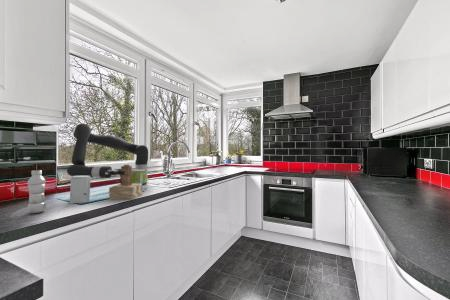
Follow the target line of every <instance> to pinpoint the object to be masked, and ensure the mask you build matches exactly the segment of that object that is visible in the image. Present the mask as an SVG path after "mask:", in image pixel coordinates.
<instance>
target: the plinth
mask: <svg viewBox="0 0 450 300" xmlns="http://www.w3.org/2000/svg"><path fill="white" fill-rule="evenodd" d="M108 189H109V190H108V191H109V192H108V193H109V195H108V198H109V200H134V199H136V198H138V197H140V196H142V195H143V191H142V184H140V183H132V185H129V186H121V184H120V183H119V184H116V185H113V186H110V187H109V188H108Z"/></svg>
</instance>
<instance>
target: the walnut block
mask: <svg viewBox="0 0 450 300" xmlns="http://www.w3.org/2000/svg"><path fill="white" fill-rule="evenodd" d="M120 169H121V171H124V175H121V186H129V185H132V170H133V165H130V164H123V165H121V166H120Z"/></svg>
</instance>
